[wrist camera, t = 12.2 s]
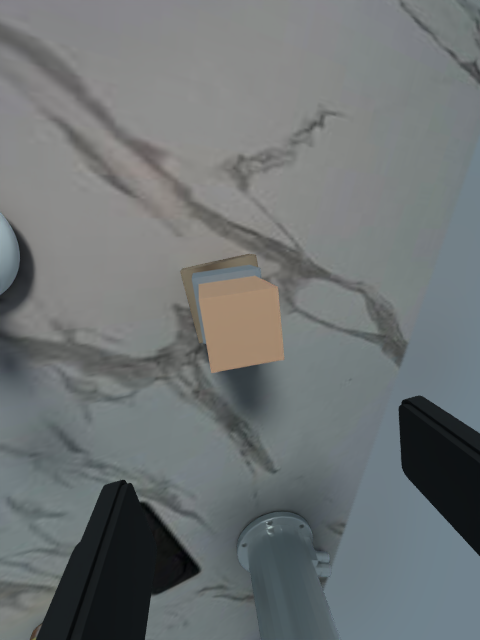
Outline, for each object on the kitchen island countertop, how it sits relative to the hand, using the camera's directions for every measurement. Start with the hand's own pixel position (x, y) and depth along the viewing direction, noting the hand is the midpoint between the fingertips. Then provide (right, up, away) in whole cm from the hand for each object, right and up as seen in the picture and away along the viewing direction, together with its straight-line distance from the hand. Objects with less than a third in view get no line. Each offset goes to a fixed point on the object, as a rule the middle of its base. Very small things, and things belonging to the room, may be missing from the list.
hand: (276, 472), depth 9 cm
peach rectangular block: (-2, +6, +15) cm, 16 cm away
